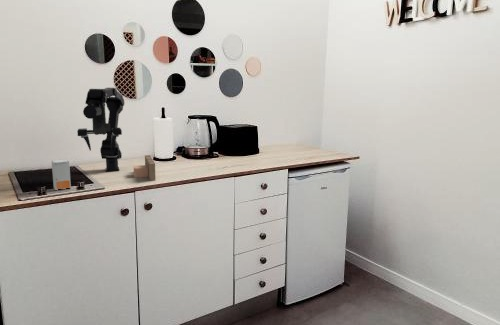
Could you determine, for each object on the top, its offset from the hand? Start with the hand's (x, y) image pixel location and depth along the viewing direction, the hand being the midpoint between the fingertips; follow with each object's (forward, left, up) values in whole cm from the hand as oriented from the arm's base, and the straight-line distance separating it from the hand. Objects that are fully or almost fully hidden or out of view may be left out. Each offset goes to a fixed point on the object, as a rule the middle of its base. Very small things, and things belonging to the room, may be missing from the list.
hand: (101, 150), depth 170 cm
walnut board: (+3, +21, -13) cm, 25 cm away
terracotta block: (+2, +17, -13) cm, 22 cm away
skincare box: (+17, -16, -13) cm, 26 cm away
